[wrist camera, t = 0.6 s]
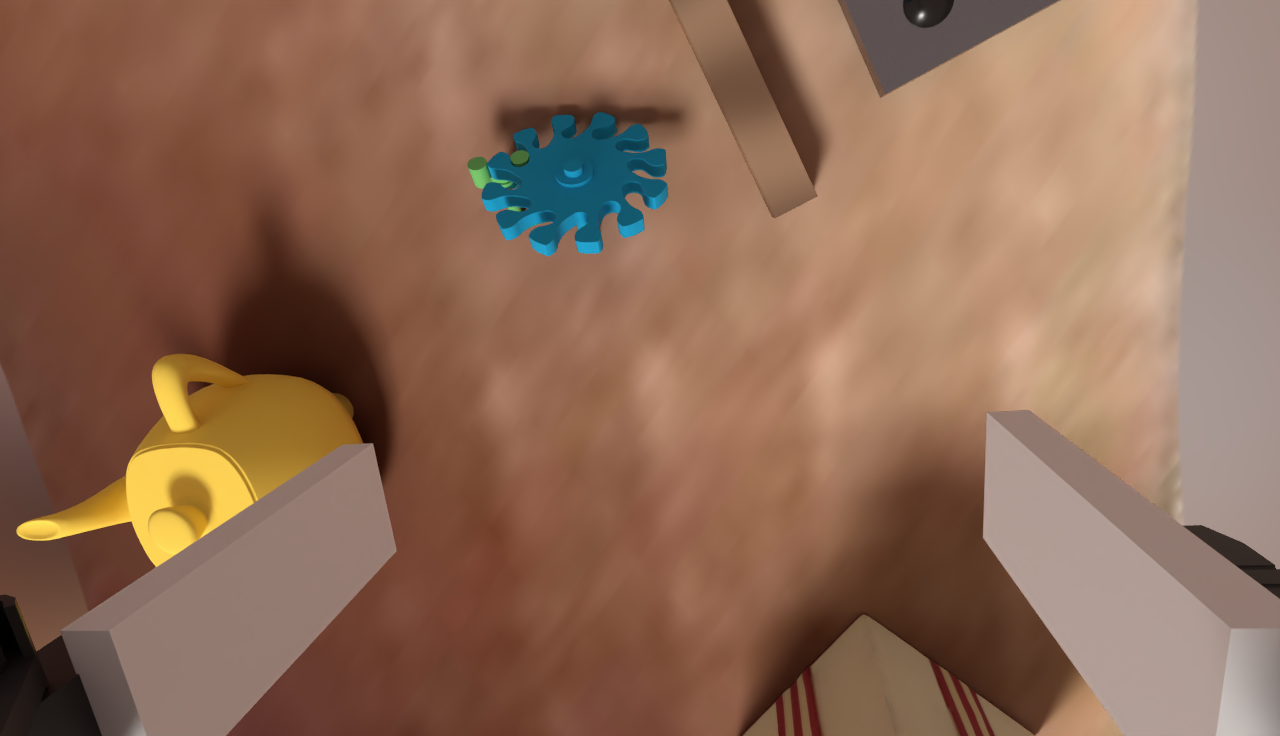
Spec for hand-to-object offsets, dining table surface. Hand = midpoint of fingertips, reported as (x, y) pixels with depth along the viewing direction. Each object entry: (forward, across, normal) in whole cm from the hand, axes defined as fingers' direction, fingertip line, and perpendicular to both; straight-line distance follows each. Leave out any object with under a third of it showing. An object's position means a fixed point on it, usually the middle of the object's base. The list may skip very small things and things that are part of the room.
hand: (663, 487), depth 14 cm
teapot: (+26, -30, -9) cm, 41 cm away
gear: (+27, -7, +7) cm, 29 cm away
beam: (+27, 0, +18) cm, 32 cm away
